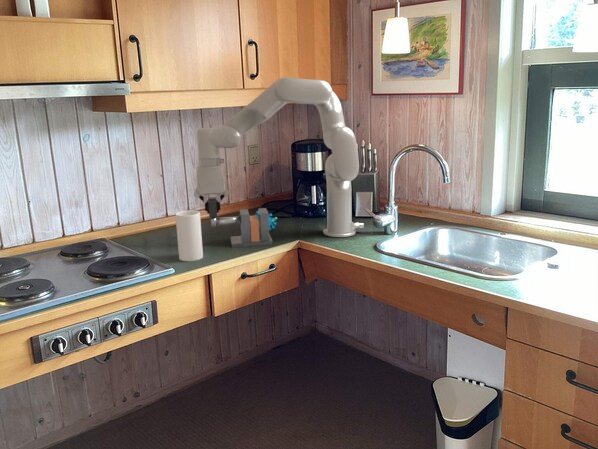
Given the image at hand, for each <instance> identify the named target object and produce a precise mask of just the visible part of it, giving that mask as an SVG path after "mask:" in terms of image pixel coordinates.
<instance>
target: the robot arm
mask: <svg viewBox="0 0 598 449" xmlns="http://www.w3.org/2000/svg"><path fill="white" fill-rule="evenodd" d="M331 86H332V85H330V83H328V81H326V80H324V79H311V78H310V79H309V78H307V79H306V78H297V77H280V78H278V79H277V80H275V81H274V82H273V83H272V84H271V85H269V86H268V87H267V88H266V89H265V90H264V91H262V92H261V93H260V94H259V95H258V96H257V97H255V98H254V99H253V100H251V102H250V103H248V104H247V105H246V106H244V107H243V108H242V109H241V110H239V111H238V112H237V113H235V114H234V115H233V116H232V117H231V118H230V119H228V120H227V121H226V122H225V123H223V125H222V126H220V128H216V127H201V128H199V129H197V131H196V139H197V142H196V143H197V151H198V154H197V156H198V165H199V166H197V169H196V188H195V189H194V193H193V196H194V197H195V198H197V199H200V200H201V201H202V202H203V203H204V211H205V212H206V213H207V214H209V203H208V195H216V207H217V214H219V213H220V212H219V211H221V201H222V200H224V198H225V197H227V196H228V195H230V190H229V189H228V187H227V185H226V178H225V172H224V167H223V165H222V164H223V163H225V159H224V158H221V156H220V153H221V152H220V149H234V148H237V147H239V145H240V144H241V142H242V136H244V135H245V134H246V133H247V132H248V131H249V130H251V129H252V128H255V127H256V126H259V125H261V124H263V123H265V122H266V121H268V120H269V119H271V117H272V116H275V114H277V113H278V111H279V110H281V109H282V108H283V107H284V106H285V105H287V104H288V103H290V104H300V105H301V104H302V105H313V106H315V108H316V109H317V110H318V114H319V117H320V122H321V129H322V136H323V137H322V139H323V143H324V145H325V146H326V147H327V149H330V150H331V154H330V155H329V156H328V157H327V158H326V160H325V164H324V174H325V180H326V219H327V220H326V224H327V226H326V228H324V229H323V235H325V236H328V237H331V238H347V237H351V236H355V234H356V229H364V228H365V224H364V222H353V221H352V209H353V208H352V205H353V204H352V202H353V201H352V193H353V192H352V191H353V189H352V181H354V180H355V178H356V177H358V174H359V172H360V161H359V152H358V145H357V140H356V139H357V138H356V135H355V133H354V131H353V130H352V129H351V128H350V127H349V126H346V123H345V116H344V112H343V111H344V110H343V106H342V104H341V100H340V99H339V97H338V96H337V94H336V93H335V92H334V91H333V89H332V87H331Z"/></svg>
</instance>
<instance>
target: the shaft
mask: <svg viewBox="0 0 598 449" xmlns="http://www.w3.org/2000/svg"><path fill="white" fill-rule="evenodd" d="M207 200H208V203H209V215H208V216H209V219H210V227H211V228H217V227H218V226H227V225H229V226H230V225H241V216H240V215H238V216H225V217H222V216H221V217H218V213H217V207H216V201H217V196H211V197H210V196H207Z"/></svg>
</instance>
